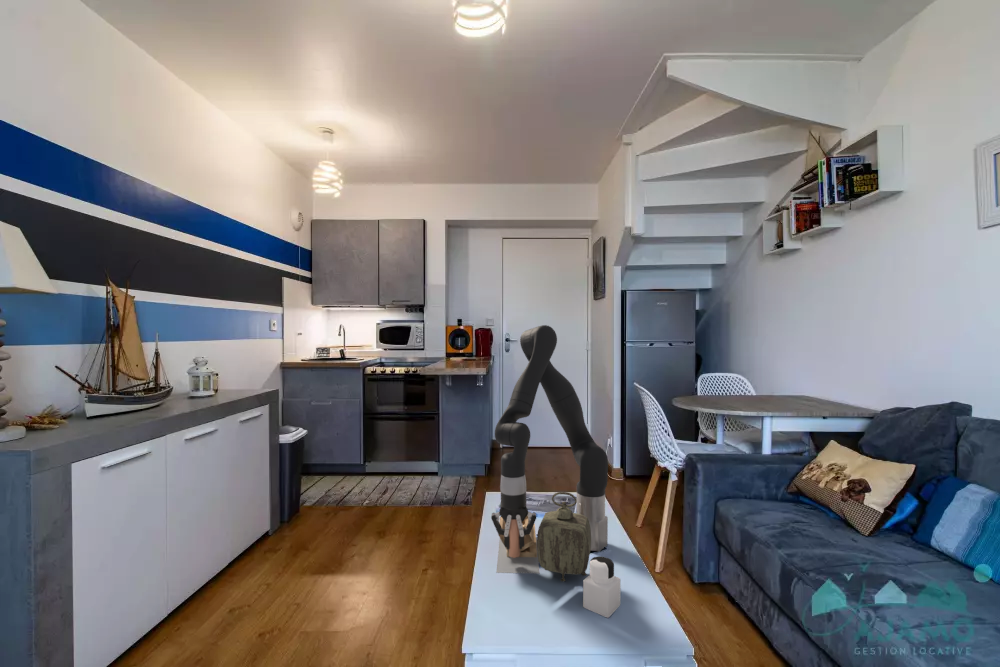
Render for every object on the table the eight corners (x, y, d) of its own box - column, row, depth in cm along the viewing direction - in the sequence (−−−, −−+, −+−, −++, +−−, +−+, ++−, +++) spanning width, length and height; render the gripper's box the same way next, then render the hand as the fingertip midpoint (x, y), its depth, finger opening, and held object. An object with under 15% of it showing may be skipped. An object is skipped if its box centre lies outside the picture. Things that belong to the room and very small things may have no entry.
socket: (535, 537, 155) (535, 509, 155) (536, 557, 141) (536, 526, 141) (500, 536, 155) (500, 508, 155) (498, 556, 142) (498, 525, 142)
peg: (522, 554, 137) (521, 517, 136) (515, 558, 134) (514, 521, 134) (513, 551, 139) (512, 514, 138) (506, 555, 136) (506, 518, 136)
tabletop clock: (591, 575, 133) (591, 489, 133) (588, 593, 124) (588, 500, 124) (541, 568, 137) (541, 484, 137) (535, 585, 128) (535, 495, 128)
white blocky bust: (595, 595, 124) (595, 550, 123) (620, 605, 119) (621, 559, 119) (582, 607, 118) (582, 561, 118) (608, 619, 114) (608, 570, 113)
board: (539, 577, 132) (539, 573, 132) (496, 576, 133) (496, 572, 133) (536, 540, 155) (536, 536, 155) (499, 539, 156) (499, 536, 156)
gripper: (536, 485, 140) (537, 541, 140) (489, 485, 140) (490, 542, 140) (538, 494, 132) (539, 553, 132) (488, 494, 133) (489, 554, 133)
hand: (514, 547), depth 136 cm, fingers closed on peg, 3 cm apart
